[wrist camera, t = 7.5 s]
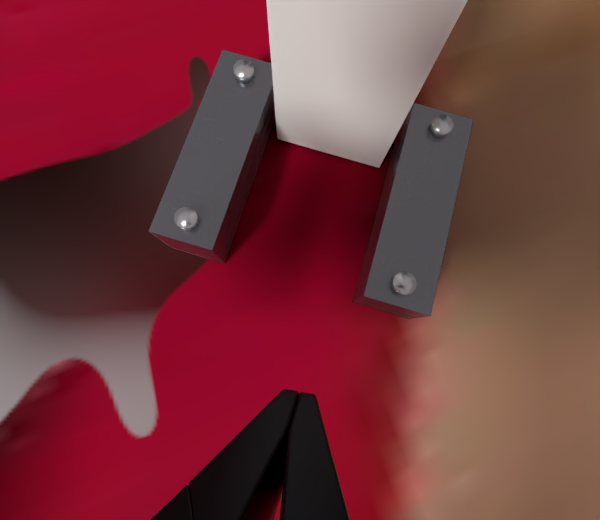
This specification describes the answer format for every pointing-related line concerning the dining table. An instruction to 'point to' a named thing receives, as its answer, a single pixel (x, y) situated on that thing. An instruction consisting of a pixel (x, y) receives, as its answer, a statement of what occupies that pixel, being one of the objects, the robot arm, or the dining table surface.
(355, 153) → the plug
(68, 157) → the dining table surface
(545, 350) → the dining table surface
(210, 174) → the housing
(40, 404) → the dining table surface
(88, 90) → the dining table surface
